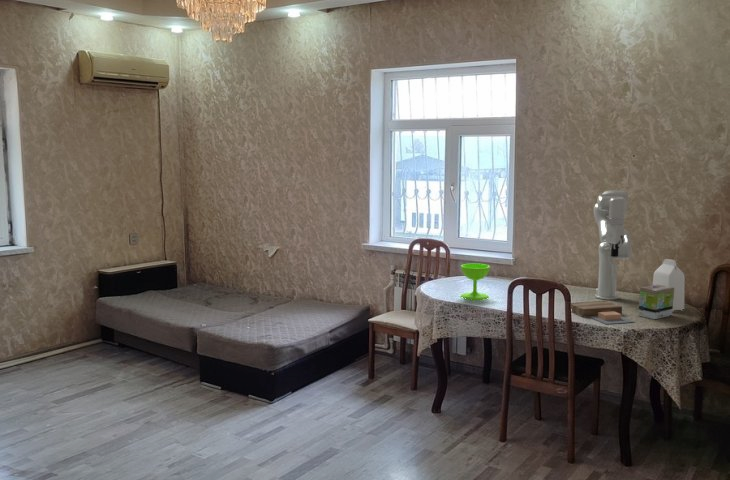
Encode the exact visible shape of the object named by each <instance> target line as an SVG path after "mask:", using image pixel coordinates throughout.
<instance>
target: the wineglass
mask: <svg viewBox="0 0 730 480" xmlns="http://www.w3.org/2000/svg"><path fill="white" fill-rule="evenodd" d="M460 268H461V271H462V274H463V275H464V277H465V278H467V279H469V280H471V281H472V280H473V281H472V283H473V285H472V286H473V288H472V292H465V293H462V294H461V295H460V298H461V297H463V298H466V299H472V300H471V301H473V300H481V301H483V300H482V299H487V298H489V299H490V297H489V295H488V294H485V293H481V292H478V289H477V287H478V285H477V283H478V281H479V280H482V279H484V278H485V277H486V276H487V275H488V274H489V271H490V268H491V266H490V265H489V264H485V263H464V264H461V265H460ZM487 300H488V299H487Z"/></svg>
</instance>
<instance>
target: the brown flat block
mask: <svg viewBox="0 0 730 480" xmlns="http://www.w3.org/2000/svg"><path fill="white" fill-rule="evenodd" d="M570 303H571V309H572V312H571V313H573V314H575V315H577V316H579V317H582V318H590V316H598V312H612V311H615V312H617V313H620V314H621V316H622V314H623V306H621V305H619V304H615V303H613V302H611V301H608V300H595V301H581V302H580V301H579V302H578V301H577V302H570Z"/></svg>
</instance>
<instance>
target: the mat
mask: <svg viewBox="0 0 730 480" xmlns="http://www.w3.org/2000/svg"><path fill="white" fill-rule="evenodd" d="M589 318H590V319H593V320H595V321H597V322H599V323H601V324H604V325H607V326H608V325H618V324H619V323H621V324H631V323H630V322H635V323H636V321H635V320H632V319H630V318H626V317H625V316H622V315H621V319H618V320H603V319H601V318H598V316H590V317H589Z"/></svg>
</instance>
